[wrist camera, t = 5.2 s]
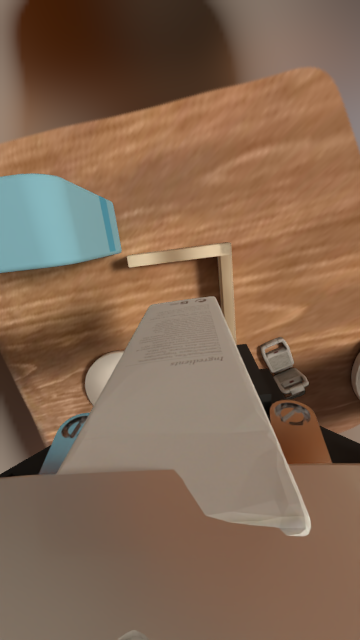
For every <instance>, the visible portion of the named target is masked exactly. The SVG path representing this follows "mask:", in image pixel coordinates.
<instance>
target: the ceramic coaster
mask: <svg viewBox="0 0 360 640" xmlns="http://www.w3.org/2000/svg"><path fill="white" fill-rule="evenodd" d="M124 351H125V350H118V351H112V352H109V353H107V354H104V355H103V356H101V357H99V358H98V359H97V360H96V361H95V362H94V363H93V365H92V366H91V367H90V369H89V370H88V373H87V375H86V379H85V389H86V393H87V396H88V398H89V400H90V402H91V403H92V404H93V406H94V405H95V403H96V401H97V399H98V397H99V396H100V394H101V392H102V390H103V389H104V387H105V385H106V383H107V382H108V380H109V378H110V376H111V374H112V372H113V370H114V369H115V367H116V365H117V364H118V362H119V360H120V358H121V357H122V355H123V353H124Z"/></svg>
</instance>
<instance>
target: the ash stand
mask: <svg viewBox="0 0 360 640" xmlns="http://www.w3.org/2000/svg"><path fill="white" fill-rule="evenodd" d="M215 256H217V259H218V273H219V287H220V301H221V311H222V313H223V316H224V318H225V320H226V322H227V325H228V327H229V329H230V332H231V334H232V337H233V339H234V342H235V344H236V328H235V309H234V290H233V271H232V252H231V243H228V242H225V243H217V244H209V245H202V246H194V247H186V248H179V249H171V250H163V251H156V252H148V253H141V254H133V255H130V256H127V261H128V266H129V267H136V266H144V265H152V264H160V263H168V262H175V261H183V260H191V259H199V258H207V257H215Z"/></svg>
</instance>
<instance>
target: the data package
mask: <svg viewBox="0 0 360 640" xmlns="http://www.w3.org/2000/svg"><path fill="white" fill-rule="evenodd" d="M121 251H122V250H121V245H120V239H119V234H118V228H117V223H116V218H115V212H114V207H113V203H112V202H111V201H109V200H106V199H104V198H102V197H100V196H98V195H96V194H94V193H92V192H90V191H88V190H86V189H83V188H81V187H79V186H77V185H75V184H73V183H71V182H69V181H67V180H65V179H62V178H60V177H57V176H53V175H46V174H18V175H10V176H3V177H0V273H5V272H14V271H22V270H31V269H40V268H48V267H56V266H63V265H70V264H75V263H80V262H85V261H89V260H93V259H97V258H102V257H106V256H110V255H114V254H118V253H121Z"/></svg>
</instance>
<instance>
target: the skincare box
mask: <svg viewBox="0 0 360 640" xmlns="http://www.w3.org/2000/svg"><path fill="white" fill-rule="evenodd" d="M171 469H174V470H175V471H176V472H177V474H178V475H179V476H180V477H181V478H182V479H183V481H184V483H185V485H186V487H187V488H188V490H189V491H190V493H191V494H192V496H193V497H194V499H195V500H196V502H197V503H198V505H199V506H200V508H201V509H202V511H203V512H204V514H205V515H206V516H209V517H213V518H216V519H220V520H223V521H226V522H231V523H238V524H246V525H256V526H268V527H276V528H279V529H280V530H281V531H282V532H283V533H284V534H285V535H286V536H306V535H308V534H309V532H310V528H311V522H310V517H309V514H308V512H307V509H306V507H305V504H304V502H303V499H302V497H301V494H300V492H299V489H298V487H297V484H296V482H295V480H294V477H293V475H292V473H291V470H290V468H289V466H288V464H287V461H286V459H285V457H284V454H283V452H282V449H281V447H280V444H279V442H278V440H277V437H276V435H275V433H274V430H273V428H272V426H271V424H270V421H269V419H268V417H267V414H266V412H265V410H264V407H263V405H262V403H261V400H260V398H259V396H258V394H257V392H256V390H255V387H254V385H253V383H252V380H251V378H250V376H249V374H248V371H247V369H246V367H245V365H244V362H243V360H242V358H241V355H240V353H239V351H238V349H237V346H236V344H235V342H234V339H233V337H232V334H231V332H230V329H229V327H228V325H227V322H226V320H225V318H224V316H223V313H222V311H221V308H220V306H219V304H218V302H217V299H216V298H215V297H214V296H209V297H202V298H195V299H187V300H180V301H173V302H166V303H160V304H153V305H151V306H149V308H148V310H147V311H146V313H145V315H144V317H143V318H142V320H141V322H140V324H139V326H138V328H137V329H136V331H135V333H134V335H133V337H132V338H131V340H130V342H129V344H128V346H127V347H126V349H125V351H124V353H123V355H122V357H121V358H120V360H119V362H118V364H117V365H116V367H115V369H114V370H113V372H112V374H111V376H110V378H109V380H108V382H107V383H106V385H105V387H104V389H103V390H102V392H101V394H100V396H99V397H98V399H97V401H96V403H95V405H94V407H93V408H92V410H91V412H90V414H89V416H88V418H87V419H86V421H85V423H84V425H83V427H82V429H81V431H80V433H79V435H78V437H77V438H76V440H75V442H74V443H73V445H72V447H71V449H70V451H69V452H68V454H67V456H66V458H65V459H64V461H63V463H62V465H61V466H60V468H59V470H58V472H57V473H56V475H64V474H82V473H100V472H123V471H146V470H171Z"/></svg>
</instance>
